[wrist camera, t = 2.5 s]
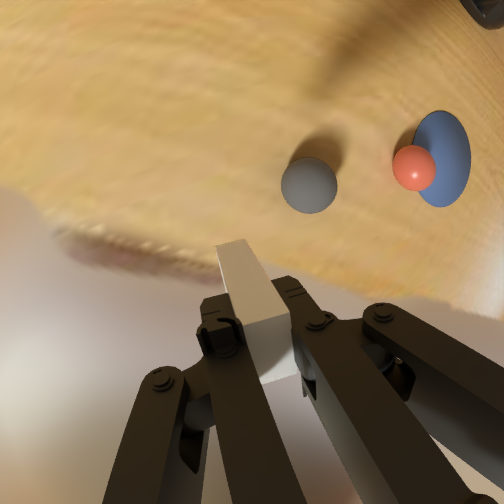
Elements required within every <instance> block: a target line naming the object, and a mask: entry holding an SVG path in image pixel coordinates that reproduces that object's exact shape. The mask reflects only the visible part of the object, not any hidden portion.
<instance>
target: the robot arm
mask: <svg viewBox="0 0 504 504" xmlns="http://www.w3.org/2000/svg"><path fill="white" fill-rule="evenodd" d="M460 1H461V3H462V4H463V6H464V7H465V9H466V10H467V11H468V13H469V14H470V15H471V16H472V17H473V19H474V20H475V21H476V22H477V23H478V24H480V25H481V26H482V27H484V28H485V29H488V30H493V29H500V28H502V27H503V26H504V0H460ZM215 249H216V253H217V257H218V261H219V265H220V269H221V273H222V277H223V281H224V285H225V289H226V293H225V294H221V295H217V296H213V297H209V298H205V299H204V300H203V302H202V304H201V306H200V311H201V319H202V324H201V325H200V326H199V327H198V329H197V333H196V336H197V338H198V341H199V344H200V346H201V349H202V352H203V355H204V356H203V357H202V359H201V360H200V361H199V362H198V363H196V364H195V365H193V366H192V367H190V368H188V369H186V370H184V371H182V372H181V370H179V369H177V368H176V367H172V366H164V367H159V368H157V369H154V370H152V371H151V372H150V373H148V374H147V375H146V376H145V378H144V380H143V381H142V383H141V386H140V389H139V391H138V394H137V397H136V400H135V402H134V405H133V408H132V411H131V414H130V417H129V419H128V422H127V426H126V428H125V431H124V434H123V437H122V441H121V443H120V446H119V449H118V452H117V456H116V459H115V462H114V465H113V468H112V472H111V475H110V479H109V481H108V485H107V489H106V492H105V495H104V499H103V503H102V504H201V498H202V489H203V480H204V472H205V464H206V456H207V448H208V447H207V446H208V439H209V432H210V427H212V426H214V425H215V424H216V430H217V434H218V440H219V445H220V450H221V454H222V459H223V464H224V468H225V473H226V477H227V482H228V486H229V490H230V494H231V498H232V503H233V504H307V502H306V500H305V497H304V495H303V492H302V490H301V487H300V485H299V482H298V480H297V478H296V475H295V473H294V470H293V467H292V465H291V462H290V460H289V457H288V455H287V452H286V449H285V447H284V444H283V442H282V439H281V436H280V434H279V431H278V429H277V426H276V423H275V420H274V418H273V415H272V413H271V410H270V407H269V404H268V401H267V399H266V396H265V393H264V390H263V388H262V385H261V384H264V383H268V382H271V381H275V380H278V379H281V378H284V377H287V376H291V375H294V374H297V367H296V364H297V366H298V368H299V370H300V372H301V379H302V390H303V396H304V397H306V396H307V394H308V396H309V398H310V400H311V402H312V404H313V406H314V408H315V410H316V412H317V414H318V416H319V418H320V420H321V422H322V424H323V426H324V428H325V430H326V432H327V434H328V436H329V438H330V440H331V442H332V444H333V446H334V448H335V450H336V452H337V454H338V455H339V458H340V460H341V462H342V464H343V466H344V467H345V469H346V471H347V473H348V475H349V477H350V479H351V481H352V483H353V485H354V487H355V489H356V491H357V493H358V495H359V496H360V498H361V500H362V502H363V504H498V503H497V502H496V501H495V500H494V499H493V498H491V497H490V496H488V495H485V494H476V493H474V492H472V491H471V490H470V489H469V488H468V487H467V486H466V484H465V483H464V482H463V480H462V479H461V477H460V476H459V475H458V473H457V472H456V470H455V469H454V468H453V466H452V465H451V464H450V462H449V461H448V460H447V458H446V457H445V455H444V454H443V453H442V452H441V450H440V449H439V447H438V446H437V445H436V443H435V442H434V441H433V439H432V438H431V437H430V435H431V436H432V437H433V438H435V439H436V440H437V441H438V442H440V443H441V444H442V445H444V446H445V447H446V448H447V449H449V450H450V451H451V452H453V453H454V454H455V455H457V456H458V457H459V458H461V459H462V460H463V461H464V462H466V463H467V464H468V465H470V466H471V467H473V468H474V469H475V470H476V471H478V472H479V473H480V474H482V475H483V476H484V477H486V478H487V479H489V480H490V481H491V482H493V483H494V484H496V485H497V486H498V487H500V488H501V489H502V490H504V368H503V367H501V366H500V365H498V364H496V363H495V362H493V361H491V360H490V359H488V358H486V357H485V356H483V355H481V354H480V353H478V352H476V351H474V350H473V349H471V348H469V347H468V346H466V345H464V344H462V343H461V342H459V341H457V340H456V339H454V338H452V337H450V336H448V335H447V334H445V333H444V332H442V331H440V330H438V329H436V328H435V327H433V326H431V325H430V324H428V323H426V322H424V321H422V320H421V319H419V318H417V317H415V316H414V315H412V314H410V313H408V312H407V311H405V310H403V309H401V308H399V307H398V306H395V305H393V304H390V303H375V304H373V305H370V306H368V307H367V308H366V309H365V310H364V312H363V317H362V318H359V319H351V320H339V319H338V318H337V317H336V316H335V315H334V314H332V313H330V312H327V311H322V310H321V309H320V308H319V306H318V305H317V304H316V303H315V301H314V300H313V299H312V298H311V296H310V295H309V294H308V293H307V291H306V290H305V288H303V286H302V285H301V283H300V282H299V281H298V280H297V279H295V278H293V277H291V276H285V277H281V278H278V279H274V280H270V279H269V277H268V275H267V274H266V272H265V271H264V269H263V267H262V266H261V264H260V262H259V261H258V259H257V257H256V256H255V254H254V253H253V251H252V249H251V248H250V246H249V244H248V243H247V241H246V239H241V240H237V241H233V242H229V243H225V244H221V245H217V246H215ZM396 357H397V358H396ZM398 358H399V359H400V360H399V359H398ZM401 360H402V361H401ZM306 392H307V393H306Z"/></svg>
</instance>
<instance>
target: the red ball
mask: <svg viewBox="0 0 504 504" xmlns="http://www.w3.org/2000/svg"><path fill="white" fill-rule="evenodd" d="M393 173H394V176H395V178H396V180H397V181H398V182H399V184H400V185H401V186H403V187H404V188H406V189H408V190H411V191H421V190H424V189H426V188H427V187H429V186H430V185H431V184H432V182H433V181H434V178H435V175H436V165H435V161H434V159H433V157H432V156H431V154H430V153H429V152H428V151H427V150H426V149H424V148H422V147H420V146H417V145H409V146H405V147H403V148H401V149H400V150H399V151H398V152H397V153H396V155H395V157H394V160H393Z"/></svg>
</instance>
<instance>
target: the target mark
mask: <svg viewBox="0 0 504 504" xmlns="http://www.w3.org/2000/svg"><path fill="white" fill-rule="evenodd" d="M413 145H417V146H420V147H422V148H424V149H426V150H427V151H428V152H429V153H430V154H431V156H432V157H433V159H434V161H435V165H436V175H435V178H434V181H433V182H432V184H431V185H430V186H429V187H427V188H426V189H424V190H421V191H419V193H420V195H421V196H422V198H423V199H424V200H425V201H426V202H428V203H429V204H431V205H433V206H436V207H446V206H448V205H450V204H452V203H453V202H455V201H456V200H457V199H458V198H459V196H460V195H461V194H462V192H463V190H464V188H465V186H466V184H467V181H468V178H469V174H470V167H471V151H470V144H469V140H468V137H467V134H466V132H465V130H464V128H463V126H462V125H461V123H460V122H459V121H458V120H457V118H455V117H454V116H453V115H451V114H450V113H447V112H443V111H436V112H433V113H431V114H429V115H428V116H426V117H425V118H424V119H423V121H422V122H421V123H420V125H419V127H418V129H417V131H416V133H415V136H414V140H413Z"/></svg>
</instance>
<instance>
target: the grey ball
mask: <svg viewBox="0 0 504 504" xmlns="http://www.w3.org/2000/svg"><path fill="white" fill-rule="evenodd" d="M281 190H282V194H283V196H284V198H285V200H286V201H287V203H288V204H289V205H290V206H291V207H292V208H294V209H295V210H297V211H299V212H302V213H308V214H312V213H318V212H321V211H323V210H324V209H326V208H327V207H328V206H329V205H330V204H331V203H332V202H333V200H334V199H335V196H336V193H337V179H336V176H335V174H334V172H333V170H332V169H331V168H330V167H329V166H328V165H327V164H326V163H325V162H323V161H321V160H319V159H316V158H302V159H299V160H296V161H294V162H293V163H291V164H290V165H289V166H288V167H287V169H286V170H285V172H284V174H283V177H282V181H281Z"/></svg>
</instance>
